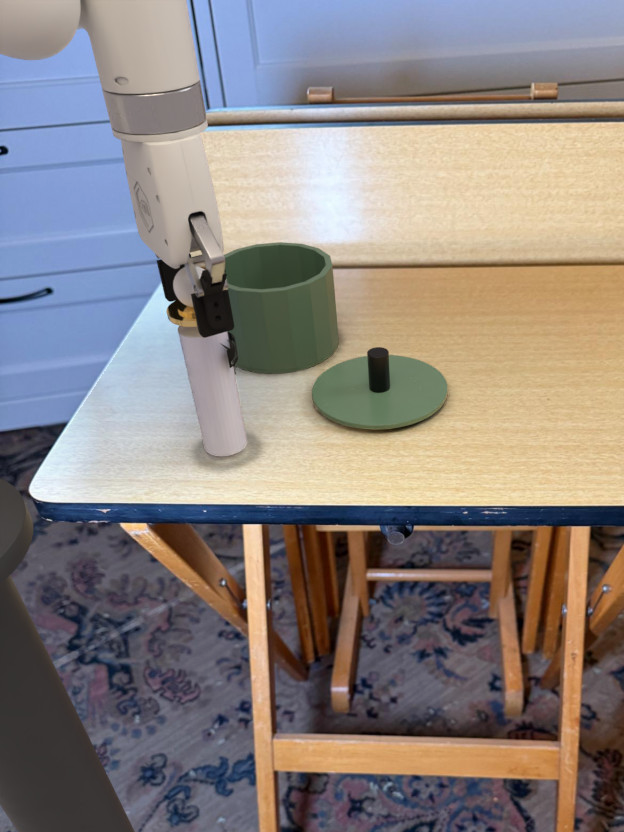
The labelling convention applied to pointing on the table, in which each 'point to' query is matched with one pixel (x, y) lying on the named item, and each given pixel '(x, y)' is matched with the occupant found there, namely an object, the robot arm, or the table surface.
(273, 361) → the tin
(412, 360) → the tin lid
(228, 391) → the perfume bottle
